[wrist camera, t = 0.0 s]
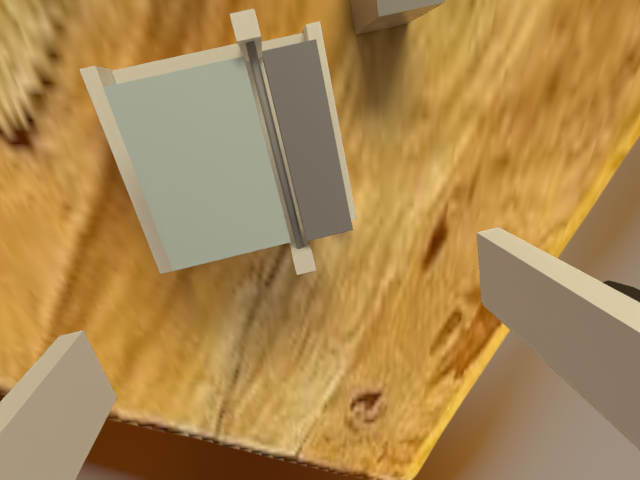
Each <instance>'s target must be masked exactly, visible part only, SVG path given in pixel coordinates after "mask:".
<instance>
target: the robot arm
mask: <svg viewBox="0 0 640 480" xmlns="http://www.w3.org/2000/svg"><path fill="white" fill-rule="evenodd" d="M477 245H478V259H479V272H480V286H481V300H482V304H483V305H484V306H485V307H486V308H487V309H488V310H489V311H490V312H492V313H493V314H494V315H495V316H496V317H497V318H498V319H499V320H500V321H501V322H502V323H503V324H504V325H506V326H507V327H508V328H509V329H510V330H511V331H512V332H513V333H514V334H515V335H516V336H517V337H518V338H520V339H521V340H522V341H523V342H524V343H525V344H526V345H527V346H528V347H529V348H530V349H531V350H532V351H534V352H535V353H536V354H537V355H538V356H539V357H540V358H541V359H542V360H543V361H544V362H545V363H546V364H547V365H549V366H550V367H551V368H552V369H553V370H554V371H555V372H556V373H557V374H558V375H559V376H561V377H562V378H563V379H564V380H565V381H566V382H567V383H568V384H569V385H570V386H571V387H572V388H573V389H574V390H575V391H577V392H578V393H579V394H580V395H581V396H582V397H583V398H584V399H585V400H586V401H587V402H588V403H589V404H590V405H592V406H593V407H594V408H595V409H596V410H597V411H598V412H599V413H600V414H601V415H602V416H603V417H604V418H606V419H607V420H608V421H609V422H610V423H611V424H612V425H613V426H614V427H615V428H617V429H618V431H620V432H621V433H622V434H623V435H624V436H625V437H626V438H627V439H628V440H629V441H631V443H632V444H634V445H635V446H636V447H637V448H638V449H639V450H640V290H638V289H636V288H634V287H630V286H627V285H623V284H620V283H616V282H612V281H605V282H600V281H598V280H597V279H595V278H593V277H591V276H589V275H587V274H585V273H583V272H582V271H580V270H578V269H576V268H574V267H572V266H570V265H568V264H567V263H565V262H562V261H561V260H559V259H557V258H555V257H553V256H552V255H550V254H548V253H546V252H544V251H542V250H540V249H539V248H537V247H535V246H533V245H531V244H529V243H527V242H525V241H524V240H522V239H520V238H518V237H516V236H514V235H512V234H510V233H509V232H507V231H505V230H503V229H501V228H499V227H497V228H493V229H489V230H485V231H481V232H477ZM116 398H117V397H116V395H115V393H114V390H113V388H112V386H111V384H110V382H109V380H108V378H107V376H106V374H105V372H104V370H103V368H102V366H101V364H100V362H99V360H98V358H97V356H96V354H95V352H94V350H93V348H92V346H91V344H90V342H89V340H88V338H87V336H86V334H85V332H84V330H82V331H78V332H74V333H70V334H66V335H62V336H59V337H58V338H57V339H56V340H55V341H54V343H53V344H52V345H51V346H50V347H49V348H48V349H47V350H46V352H45V353H44V354H43V355H42V356H41V357H40V358H39V359H38V360H37V362H36V363H35V364H34V365H33V366H32V367H31V368H30V369H29V371H28V372H27V373H26V374H25V375H24V376H23V377H22V378H21V380H20V381H19V382H18V383H17V384H16V385H15V386H14V387H13V388H12V390H11V391H10V392H9V393H8V394H7V395H6V396H5V398H4V399H3V400H2V401H1V402H0V480H75V479H76V477H77V475H78V473H79V471H80V469H81V467H82V465H83V463H84V461H85V459H86V457H87V455H88V453H89V451H90V449H91V447H92V445H93V444H94V442H95V440H96V438H97V436H98V434H99V432H100V430H101V428H102V426H103V424H104V422H105V420H106V418H107V416H108V414H109V412H110V410H111V408H112V406H113V404H114V402H115V400H116Z"/></svg>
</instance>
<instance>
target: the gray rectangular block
mask: <svg viewBox="0 0 640 480" xmlns="http://www.w3.org/2000/svg"><path fill="white" fill-rule="evenodd" d="M443 3H445V0H350V4H351V10H352V16H353V23H354V29H355V35H358V34H362V33H367V32H371V31H376V30H380V29H385V28H390V27H394V26H399V25H403V24H408V23H410V22H411V21H413V20H415V19H417V18H418V17H420V16H422V15H424V14H425V13H427V12H429V11H431V10H432V9H434V8H436V7H438V6H439V5H441V4H443Z"/></svg>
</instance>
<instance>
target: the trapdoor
mask: <svg viewBox="0 0 640 480" xmlns="http://www.w3.org/2000/svg"><path fill="white" fill-rule="evenodd" d="M262 58H263V63H264V67H265V71H266V75H267V80H268V84H269V88H270V92H271V96H272V100H273V105H274V109H275V113H276V117H277V121H278V125H279V130H280V134H281V138H282V142H283V146H284V150H285V155H286V159H287V163H288V167H289V171H290V175H291V180H292V184H293V188H294V192H295V196H296V200H297V205H298V209H299V213H300V217H301V221H302V225H303V228H304V232H305V235H306V239H307V241H310V240H314V239H318V238H322V237H326V236H330V235H334V234H338V233H342V232H346V231H350V230H353V228H352V223H351V218H350V213H349V207H348V202H347V197H346V192H345V187H344V181H343V176H342V171H341V166H340V161H339V155H338V150H337V145H336V140H335V135H334V129H333V124H332V119H331V114H330V109H329V103H328V98H327V93H326V88H325V83H324V77H323V72H322V67H321V62H320V57H319V51H318V46H317V41H316V39H315V40H310V41H306V42H301V43H297V44H292V45H288V46H283V47H278V48H274V49H269V50H265V51H262ZM103 89H104V91H105V94H106V97H107V99H108V102H109V105H110V107H111V110H112V112H113V115H114V118H115V120H116V123H117V126H118V128H119V131H120V133H121V136H122V139H123V141H124V144H125V147H126V149H127V152H128V154H129V157H130V160H131V162H132V165H133V168H134V170H135V173H136V175H137V178H138V181H139V183H140V186H141V189H142V191H143V194H144V196H145V199H146V202H147V204H148V207H149V210H150V212H151V215H152V218H153V220H154V223H155V225H156V228H157V231H158V233H159V236H160V239H161V241H162V244H163V246H164V249H165V252H166V254H167V257H168V260H169V262H170V265H171V267H172V270H173V271H176V270H180V269H184V268H188V267H192V266H196V265H200V264H204V263H208V262H212V261H216V260H221V259H225V258H229V257H233V256H237V255H241V254H245V253H249V252H253V251H257V250H261V249H266V248H270V247H274V246H278V245H282V244H286V243H290V242H291V240H290V235H289V232H288V228H287V224H286V220H285V216H284V212H283V208H282V204H281V200H280V196H279V192H278V188H277V184H276V180H275V177H274V173H273V169H272V165H271V161H270V157H269V153H268V149H267V145H266V141H265V137H264V133H263V129H262V126H261V122H260V118H259V114H258V110H257V106H256V102H255V98H254V94H253V90H252V86H251V82H250V78H249V75H248V71H247V67H246V63H245V59H244V56H243V57H238V58H234V59H229V60H225V61H220V62H216V63H211V64H206V65H202V66H197V67H193V68H188V69H184V70H179V71H175V72H170V73H166V74H161V75H156V76H152V77H147V78H143V79H138V80H134V81H129V82H125V83H120V84H115V85H111V86H106V87H103Z"/></svg>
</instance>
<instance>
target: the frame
mask: <svg viewBox="0 0 640 480" xmlns="http://www.w3.org/2000/svg"><path fill="white" fill-rule="evenodd" d="M230 17H231V21H232V25H233V29H234V33H235V37H236V41H237V44H232V45H227V46H223V47H218V48H214V49H209V50H204V51H200V52H195V53H191V54H186V55H181V56H177V57H172V58H168V59H163V60H159V61H154V62H149V63H145V64H140V65H136V66H131V67H126V68H122V69H117V70H113V69H108V68H103V67H99V66H91V67H87V68H82V69H80V72H81V74H82V77H83V80H84V82H85V85H86V87H87V90H88V92H89V95H90V97H91V100H92V102H93V105H94V107H95V110H96V113H97V115H98V118H99V120H100V123H101V125H102V128H103V130H104V133H105V135H106V138H107V140H108V143H109V145H110V148H111V151H112V153H113V156H114V158H115V161H116V163H117V166H118V168H119V171H120V173H121V176H122V178H123V181H124V183H125V186H126V189H127V191H128V194H129V196H130V199H131V201H132V204H133V206H134V209H135V211H136V214H137V216H138V219H139V221H140V224H141V227H142V229H143V232H144V234H145V237H146V239H147V242H148V244H149V247H150V249H151V252H152V254H153V257H154V260H155V262H156V265H157V267H158V270H159V272H160V274H162V273H166V272H170V271H173V270H172V267H171V265H170V262H169V260H168V257H167V254H166V252H165V249H164V246H163V244H162V241H161V239H160V236H159V233H158V231H157V228H156V225H155V223H154V220H153V218H152V215H151V212H150V210H149V207H148V204H147V202H146V199H145V196H144V194H143V191H142V189H141V186H140V183H139V181H138V178H137V175H136V173H135V170H134V168H133V165H132V162H131V160H130V157H129V154H128V152H127V149H126V147H125V144H124V141H123V139H122V136H121V133H120V131H119V128H118V126H117V123H116V120H115V118H114V115H113V112H112V110H111V107H110V105H109V102H108V99H107V97H106V94H105V91H104V89H103V87H106V86H111V85H115V84H120V83H125V82H129V81H134V80H138V79H143V78H147V77H152V76H156V75H161V74H166V73H170V72H175V71H179V70H184V69H188V68H193V67H197V66H202V65H206V64H211V63H216V62H220V61H225V60H229V59H234V58H238V57H243V56H244V59H245V63H246V67H247V71H248V75H249V78H250V82H251V86H252V90H253V94H254V98H255V102H256V106H257V110H258V114H259V118H260V122H261V126H262V129H263V133H264V137H265V141H266V145H267V149H268V153H269V157H270V161H271V165H272V169H273V173H274V177H275V180H276V184H277V188H278V192H279V196H280V200H281V204H282V208H283V212H284V216H285V220H286V224H287V228H288V232H289V235H290V240H291V242H290V247H291V253H292V258H293V262H294V266H295V270H296V274H297V275H299V274H303V273H307V272H311V271H315V270H316V267H315V262H314V258H313V254H312V250H311V247H310V244H309V241H307V239H306V235H305V232H304V228H303V225H302V221H301V217H300V213H299V209H298V205H297V200H296V196H295V192H294V188H293V184H292V180H291V175H290V171H289V167H288V163H287V159H286V155H285V150H284V146H283V142H282V138H281V134H280V130H279V125H278V121H277V117H276V113H275V109H274V105H273V100H272V96H271V92H270V88H269V84H268V80H267V75H266V71H265V67H264V63H263V58H262V51H265V50H269V49H274V48H278V47H283V46H288V45H292V44H297V43H301V42H306V41H310V40H315V39H316V41H317V46H318V51H319V57H320V62H321V67H322V72H323V77H324V83H325V88H326V93H327V98H328V103H329V109H330V114H331V119H332V124H333V129H334V135H335V140H336V145H337V150H338V155H339V161H340V166H341V171H342V176H343V181H344V187H345V192H346V197H347V202H348V207H349V213H350V218H351V220H354V219H357V218H356V212H355V207H354V202H353V196H352V191H351V186H350V180H349V175H348V169H347V164H346V159H345V153H344V148H343V143H342V137H341V132H340V127H339V121H338V116H337V111H336V105H335V100H334V95H333V89H332V84H331V78H330V73H329V68H328V62H327V57H326V52H325V46H324V41H323V36H322V30H321V25H320V21H319V22H315V23H310V24H306V25H305V27H304V29H303V33H300V34H295V35H291V36H286V37H282V38H277V39H273V40H268V41H263V42H261V34H260V30H259V26H258V22H257V17H256V13H255V9H250V10H245V11H240V12H236V13H231V14H230Z"/></svg>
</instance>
